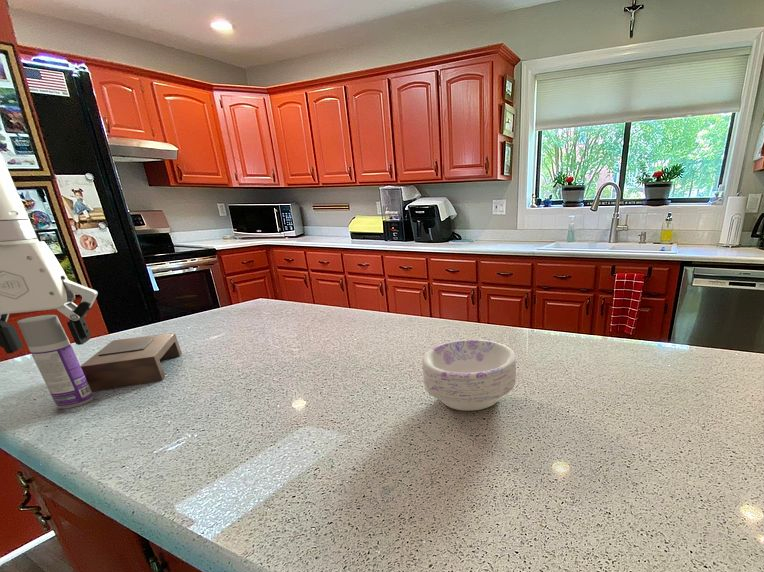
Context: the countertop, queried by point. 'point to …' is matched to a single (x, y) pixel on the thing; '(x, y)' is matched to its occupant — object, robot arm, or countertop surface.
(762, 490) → the countertop surface
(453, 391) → the paper bowls
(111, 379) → the shelf
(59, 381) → the container
